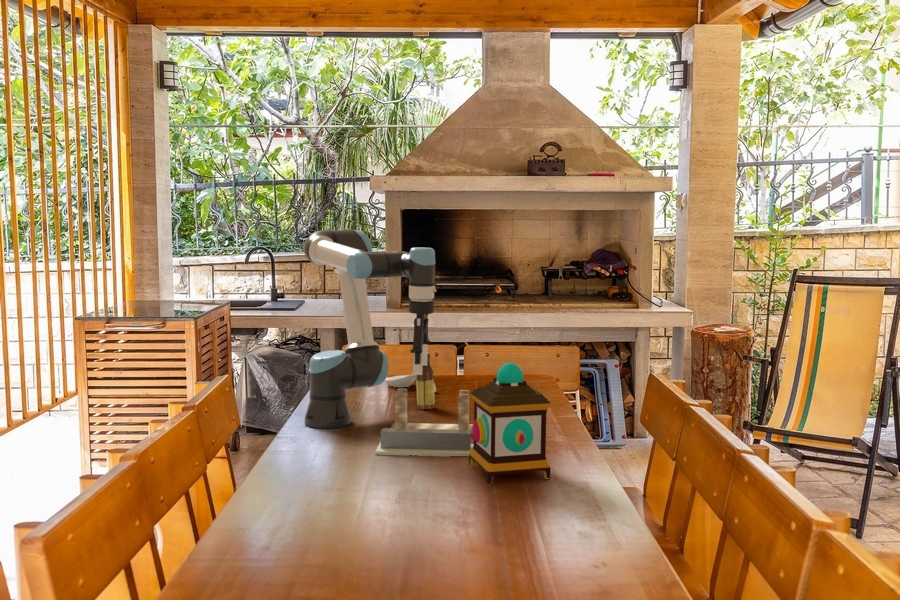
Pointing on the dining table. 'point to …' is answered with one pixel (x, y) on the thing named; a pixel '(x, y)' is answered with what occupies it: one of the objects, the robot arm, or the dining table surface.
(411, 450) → the mat
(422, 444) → the rail
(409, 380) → the spoon rest
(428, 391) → the sauce bottle
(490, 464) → the decorative lantern
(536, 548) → the dining table surface
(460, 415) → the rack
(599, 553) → the dining table surface
